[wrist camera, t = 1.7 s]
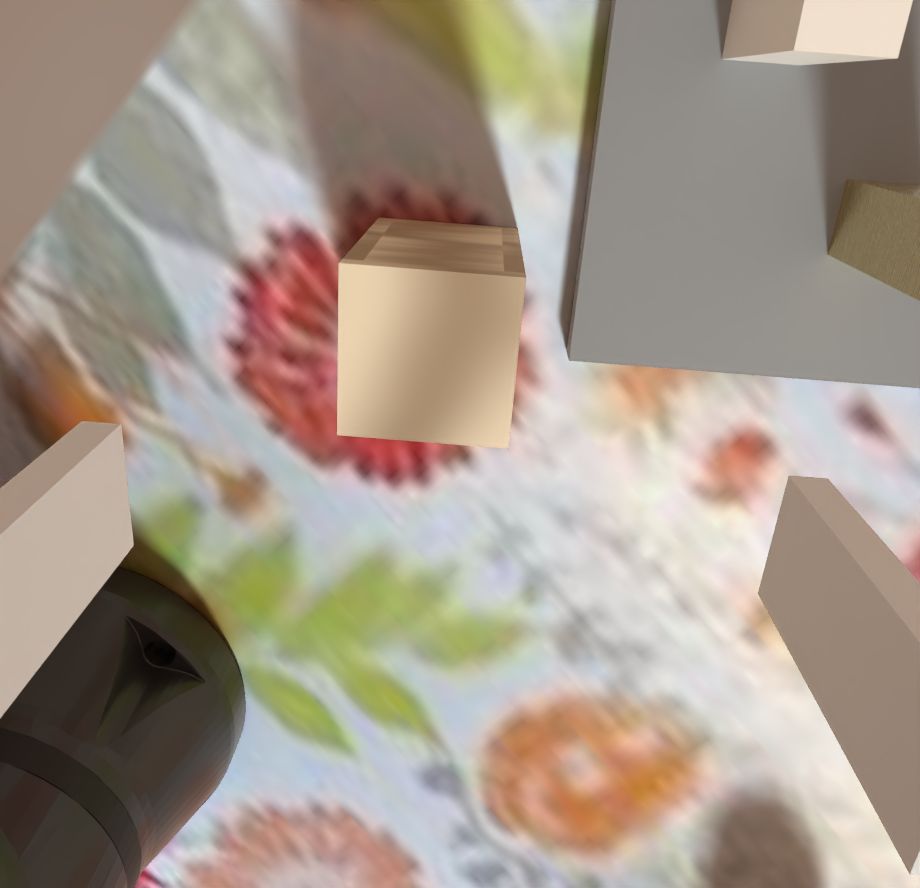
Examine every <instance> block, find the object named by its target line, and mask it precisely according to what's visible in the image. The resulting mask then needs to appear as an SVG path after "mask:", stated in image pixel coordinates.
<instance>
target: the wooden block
mask: <svg viewBox="0 0 920 888" xmlns="http://www.w3.org/2000/svg"><path fill="white" fill-rule="evenodd" d="M525 282H526V275H525V269H524V263H523V257H522V251H521V245H520V239H519V234H518V228H509V227H496V226H483V225H471V224H458V223H445V222H432V221H419V220H406V219H393V218H380V217H379V218H378V219H377V220H376V221H375V222H374V224H373V225H372V226H371V227H370V228H369V229H368V230H367V232H366V233H365V234H364V235H363V236H362V237H361V238H360V239H359V241H358V242H357V243H356V244H355V245H354V246H353V247H352V249H351V250H350V251H349V252H348V253H347V254H346V255H345V256H344V258H343V259H342V260H341V261H340V262H339V288H338V398H337V435H343V436H356V437H368V438H381V439H393V440H406V441H419V442H431V443H444V444H456V445H469V446H482V447H494V448H507V449H508V447H509V437H510V427H511V418H512V408H513V398H514V389H515V379H516V369H517V360H518V350H519V340H520V330H521V321H522V311H523V301H524V292H525Z"/></svg>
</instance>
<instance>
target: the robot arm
mask: <svg viewBox="0 0 920 888" xmlns="http://www.w3.org/2000/svg"><path fill="white" fill-rule="evenodd" d="M133 546H134V543H133V533H132V523H131V514H130V504H129V495H128V485H127V476H126V466H125V457H124V447H123V438H122V428H121V424H114V423H101V422H88V421H81V422H80V423H79V424H78V425H77V426H75V427H74V428H73V429H72V430H70V431H69V432H68V433H67V434H66V435H64V436H63V437H62V438H61V439H60V440H58V441H57V442H56V443H55V444H53V445H52V446H51V447H50V448H49V449H47V450H46V451H45V452H44V453H42V454H41V455H40V456H39V457H38V458H36V459H35V460H34V461H33V462H31V463H30V464H29V465H28V466H27V467H25V468H24V469H23V470H22V471H21V472H19V473H18V474H17V475H16V476H14V477H13V478H12V479H11V480H10V481H8V482H7V483H6V484H5V485H3V486H2V487H1V488H0V888H134V887H135V885H136V883H137V881H138V878H139V876H140V874H141V872H142V871H143V870H144V869H145V868H146V867H147V866H148V864H149V863H150V862H151V861H152V860H153V859H154V858H155V857H156V856H157V855H158V854H159V852H160V851H161V850H162V849H163V848H164V847H165V846H166V845H167V844H168V843H169V841H170V840H171V839H172V838H173V837H174V836H175V835H176V834H177V833H178V832H179V831H180V829H181V828H182V827H183V826H184V825H185V824H186V823H187V822H188V820H189V819H190V818H191V817H192V816H193V815H194V814H195V812H196V811H197V810H198V809H199V808H200V807H201V806H202V805H203V804H204V803H205V802H206V801H207V800H208V798H209V797H210V796H211V795H212V794H213V792H214V791H215V790H216V788H217V787H218V785H219V784H220V782H221V781H222V779H223V777H224V775H225V773H226V772H227V769H228V767H229V764H230V762H231V759H232V757H233V754H234V752H235V749H236V747H237V744H238V742H239V739H240V737H241V733H242V730H243V726H244V721H245V712H246V702H245V692H244V687H243V682H242V679H241V675H240V672H239V670H238V667H237V664H236V662H235V660H234V658H233V656H232V654H231V652H230V651H229V649H228V647H227V646H226V644H225V643H224V641H223V640H222V638H221V637H220V636H219V634H218V633H217V632H216V630H215V629H214V628H213V627H212V626H211V625H210V624H209V622H208V621H207V620H206V619H205V618H204V617H203V616H202V615H201V614H200V613H199V612H197V611H196V610H195V609H194V608H193V607H192V606H191V605H189V604H188V603H187V602H185V601H184V600H183V599H181V598H180V597H179V596H177V595H176V594H174V593H173V592H171V591H170V590H168V589H166V588H165V587H163V586H161V585H160V584H158V583H156V582H154V581H152V580H150V579H148V578H146V577H143V576H141V575H139V574H137V573H134V572H131V571H129V570H126V569H123V568H120V567H118V565H119V564H120V563H121V561H122V560H123V559H124V558H125V556H126V555H127V554H128V552H129V551H130V550H131V549H132V547H133ZM758 594H759V596H760V598H761V600H762V602H763V604H764V606H765V607H766V609H767V611H768V613H769V615H770V617H771V618H772V620H773V622H774V624H775V626H776V628H777V630H778V631H779V633H780V635H781V637H782V639H783V641H784V643H785V644H786V646H787V648H788V650H789V652H790V654H791V655H792V657H793V659H794V661H795V663H796V665H797V667H798V668H799V670H800V672H801V674H802V676H803V678H804V680H805V681H806V683H807V685H808V687H809V689H810V691H811V692H812V694H813V696H814V698H815V700H816V702H817V704H818V705H819V707H820V709H821V711H822V713H823V715H824V717H825V718H826V720H827V722H828V724H829V726H830V728H831V729H832V731H833V733H834V735H835V737H836V739H837V741H838V742H839V744H840V746H841V748H842V750H843V752H844V754H845V755H846V757H847V759H848V761H849V763H850V765H851V766H852V768H853V770H854V772H855V774H856V776H857V778H858V779H859V781H860V783H861V785H862V787H863V789H864V790H865V792H866V794H867V796H868V798H869V800H870V802H871V803H872V805H873V807H874V809H875V811H876V813H877V815H878V816H879V818H880V820H881V822H882V824H883V826H884V827H885V829H886V831H887V833H888V835H889V837H890V839H891V840H892V842H893V844H894V846H895V848H896V850H897V852H898V853H899V855H900V857H901V859H902V861H903V863H904V864H905V866H906V868H907V870H908V872H909V874H912V875H920V583H919V582H918V581H917V580H916V578H915V577H914V576H913V575H912V574H911V573H910V572H909V570H908V569H907V568H906V567H905V566H904V565H903V564H902V562H901V561H900V560H899V559H898V558H897V557H896V556H895V555H894V553H893V552H892V551H891V550H890V549H889V548H888V547H887V545H886V544H885V543H884V542H883V541H882V540H881V539H880V537H879V536H878V535H877V534H876V533H875V532H874V531H873V530H872V528H871V527H870V526H869V525H868V524H867V523H866V522H865V520H864V519H863V518H862V517H861V516H860V515H859V514H858V512H857V511H856V510H855V509H854V508H853V507H852V506H851V505H850V503H849V502H848V501H847V500H846V499H845V498H844V497H843V495H842V494H841V493H840V492H839V491H838V490H837V489H836V487H835V486H834V485H833V484H832V483H831V482H830V481H829V480H828V479H826V478H813V477H800V476H789V477H788V481H787V485H786V488H785V492H784V496H783V500H782V504H781V508H780V511H779V515H778V519H777V523H776V527H775V530H774V534H773V538H772V542H771V546H770V550H769V553H768V557H767V561H766V565H765V569H764V573H763V576H762V580H761V584H760V588H759V592H758Z"/></svg>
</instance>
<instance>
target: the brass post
mask: <svg viewBox="0 0 920 888" xmlns="http://www.w3.org/2000/svg"><path fill="white" fill-rule="evenodd" d="M827 255H829V256H831V257H833V258H835V259H837V260H839V261H841V262H843V263H845V264H847V265H849V266H851V267H853V268H855V269H857V270H859V271H861V272H863V273H865V274H867V275H869V276H871V277H873V278H875V279H877V280H879V281H881V282H883V283H885V284H887V285H889V286H891V287H893V288H895V289H897V290H899V291H901V292H903V293H905V294H907V295H909V296H911V297H913V298H915V299H917V300H919V301H920V185H919V184H906V183H893V182H880V181H867V180H854V179H846V183H845V187H844V191H843V195H842V199H841V203H840V207H839V211H838V214H837V218H836V222H835V226H834V230H833V234H832V238H831V242H830V246H829V250H828V254H827Z"/></svg>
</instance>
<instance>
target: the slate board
mask: <svg viewBox="0 0 920 888" xmlns="http://www.w3.org/2000/svg"><path fill="white" fill-rule="evenodd" d="M731 5H732V0H612V1H611V9H610V16H609V24H608V32H607V40H606V48H605V55H604V63H603V71H602V79H601V87H600V94H599V102H598V110H597V118H596V125H595V133H594V141H593V149H592V157H591V164H590V172H589V180H588V188H587V196H586V203H585V211H584V219H583V227H582V235H581V242H580V250H579V258H578V266H577V274H576V281H575V289H574V297H573V305H572V313H571V320H570V328H569V336H568V344H567V355H568V358H569V361H582V362H594V363H607V364H620V365H633V366H645V367H658V368H671V369H683V370H696V371H709V372H722V373H734V374H747V375H760V376H772V377H785V378H798V379H811V380H823V381H836V382H849V383H861V384H874V385H887V386H900V387H912V388H920V301H919V300H917V299H915V298H913V297H911V296H909V295H907V294H905V293H903V292H901V291H899V290H897V289H895V288H893V287H891V286H889V285H887V284H885V283H883V282H881V281H879V280H877V279H875V278H873V277H871V276H869V275H867V274H865V273H863V272H861V271H859V270H857V269H855V268H853V267H851V266H849V265H847V264H845V263H843V262H841V261H839V260H837V259H835V258H833V257H831V256H829V255H827V254H828V250H829V246H830V242H831V238H832V234H833V230H834V226H835V222H836V218H837V214H838V211H839V207H840V203H841V199H842V195H843V191H844V187H845V183H846V179H854V180H867V181H880V182H893V183H906V184H919V185H920V0H913V2H912V6H911V10H910V14H909V17H908V21H907V25H906V29H905V33H904V37H903V40H902V44H901V48H900V52H899V56H898V58H896V59H882V60H868V61H854V62H840V63H826V64H812V65H790V64H777V63H764V62H750V61H737V60H724V59H722V55H723V49H724V44H725V38H726V33H727V27H728V22H729V16H730V11H731Z"/></svg>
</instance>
